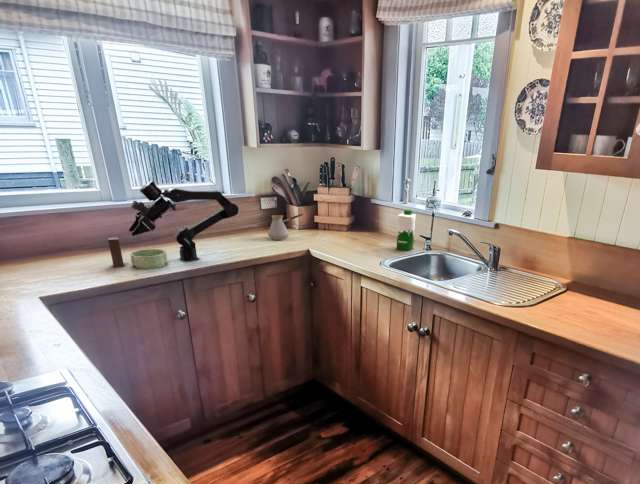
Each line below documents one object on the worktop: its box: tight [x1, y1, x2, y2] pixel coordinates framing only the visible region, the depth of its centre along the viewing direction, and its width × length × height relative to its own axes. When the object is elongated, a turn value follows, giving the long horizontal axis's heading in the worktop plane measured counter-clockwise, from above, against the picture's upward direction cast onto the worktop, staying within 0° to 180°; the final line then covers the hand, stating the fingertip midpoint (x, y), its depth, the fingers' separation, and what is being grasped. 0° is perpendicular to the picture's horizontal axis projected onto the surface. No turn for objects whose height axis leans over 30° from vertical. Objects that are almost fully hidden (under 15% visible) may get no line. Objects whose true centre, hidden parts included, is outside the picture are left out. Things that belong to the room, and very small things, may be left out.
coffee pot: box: [267, 213, 304, 241], centre depth 260 cm, size 21×12×15 cm, turn 78°
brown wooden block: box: [107, 237, 125, 268], centre depth 204 cm, size 4×4×12 cm
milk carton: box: [396, 209, 417, 252], centre depth 248 cm, size 9×9×20 cm
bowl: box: [129, 248, 168, 270], centre depth 208 cm, size 15×15×6 cm
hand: (130, 233), depth 202 cm, fingers open, 9 cm apart
